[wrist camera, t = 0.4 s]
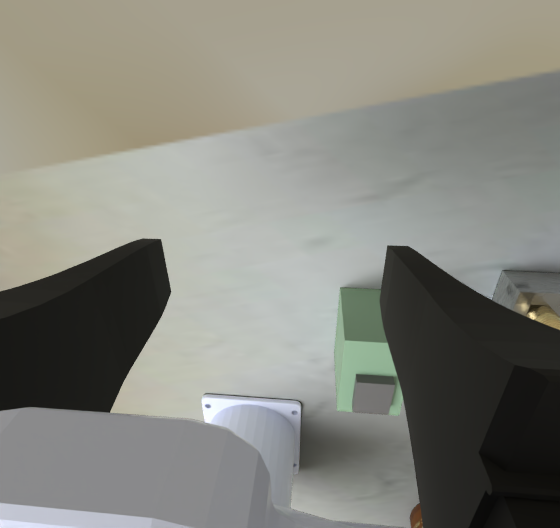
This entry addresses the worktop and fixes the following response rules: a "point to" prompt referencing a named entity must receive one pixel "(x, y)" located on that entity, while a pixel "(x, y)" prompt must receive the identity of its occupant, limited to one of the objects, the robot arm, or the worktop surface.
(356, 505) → the worktop surface
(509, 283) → the chassis
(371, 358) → the block
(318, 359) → the worktop surface
